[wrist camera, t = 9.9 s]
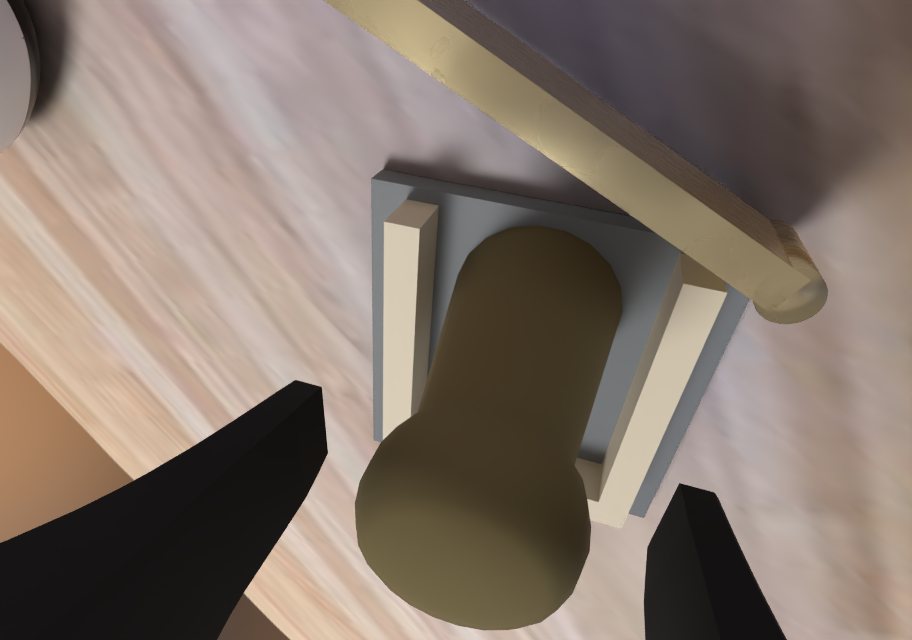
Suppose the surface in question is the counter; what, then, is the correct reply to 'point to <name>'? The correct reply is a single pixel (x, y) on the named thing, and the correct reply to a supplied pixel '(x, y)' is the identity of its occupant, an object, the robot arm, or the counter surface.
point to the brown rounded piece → (497, 439)
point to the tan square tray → (633, 349)
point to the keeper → (601, 149)
